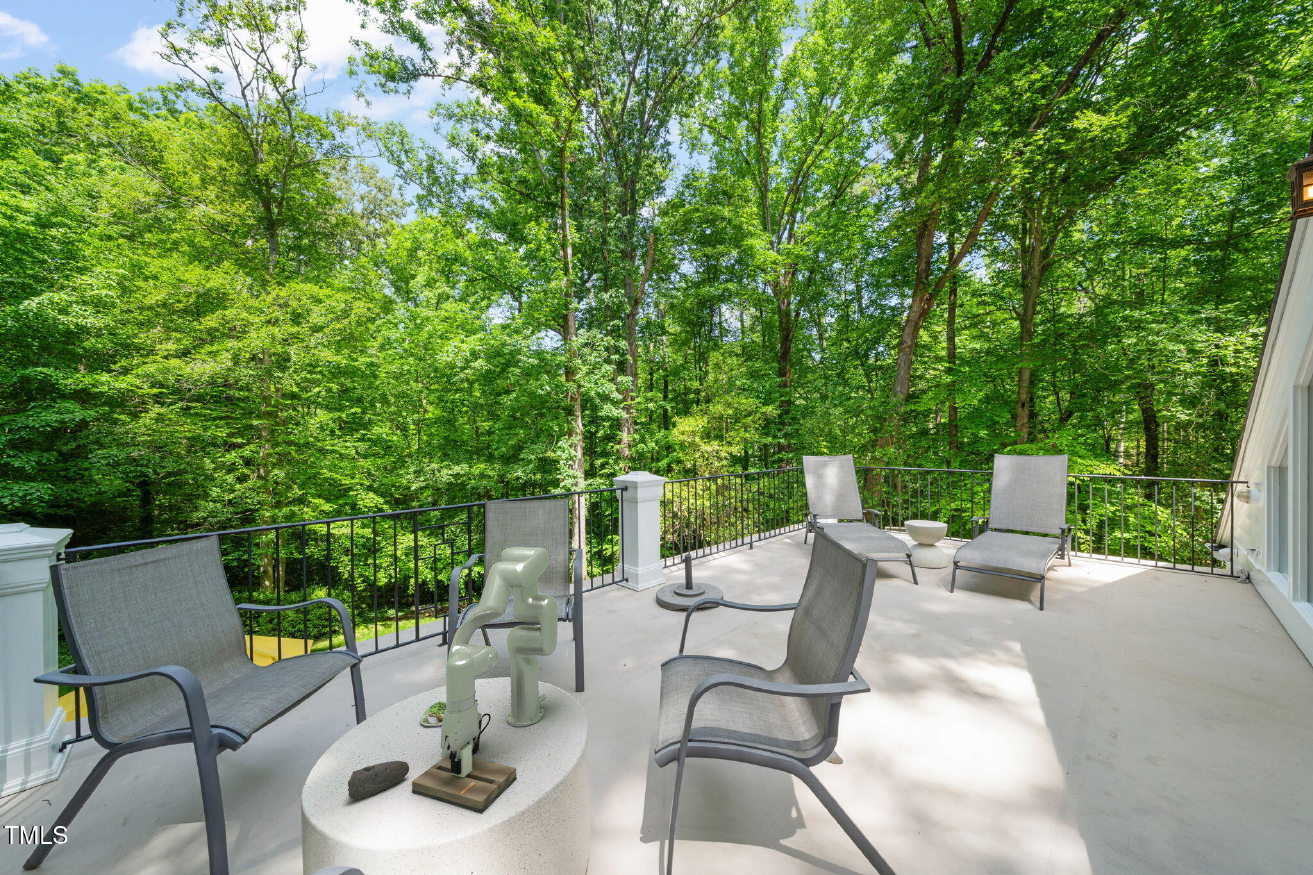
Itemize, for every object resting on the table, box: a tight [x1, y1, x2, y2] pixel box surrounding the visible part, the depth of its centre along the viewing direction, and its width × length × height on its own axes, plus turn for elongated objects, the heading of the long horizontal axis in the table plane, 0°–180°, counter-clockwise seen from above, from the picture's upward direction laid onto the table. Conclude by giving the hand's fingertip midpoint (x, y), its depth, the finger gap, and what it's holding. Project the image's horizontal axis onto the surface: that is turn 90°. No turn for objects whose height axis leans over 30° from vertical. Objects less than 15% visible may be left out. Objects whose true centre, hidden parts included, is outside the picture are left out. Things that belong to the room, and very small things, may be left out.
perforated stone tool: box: [347, 760, 410, 801], centre depth 131 cm, size 15×5×7 cm, turn 125°
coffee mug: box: [472, 711, 492, 757], centre depth 148 cm, size 12×9×10 cm
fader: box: [451, 743, 473, 777], centre depth 132 cm, size 3×4×9 cm
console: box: [411, 756, 517, 814], centre depth 131 cm, size 14×24×3 cm, turn 69°
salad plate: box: [419, 699, 479, 728], centre depth 168 cm, size 19×18×5 cm
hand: (461, 768), depth 132 cm, fingers closed on fader, 3 cm apart
